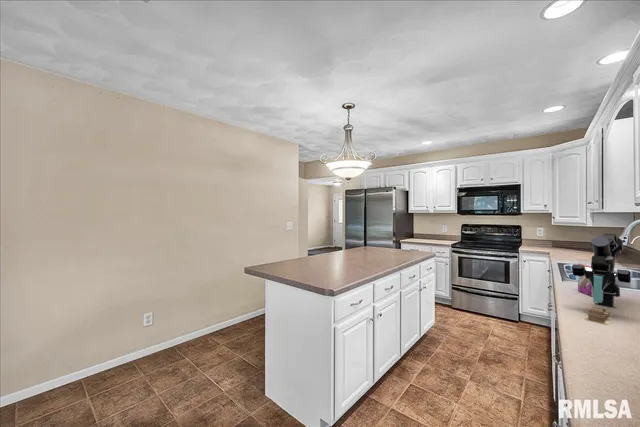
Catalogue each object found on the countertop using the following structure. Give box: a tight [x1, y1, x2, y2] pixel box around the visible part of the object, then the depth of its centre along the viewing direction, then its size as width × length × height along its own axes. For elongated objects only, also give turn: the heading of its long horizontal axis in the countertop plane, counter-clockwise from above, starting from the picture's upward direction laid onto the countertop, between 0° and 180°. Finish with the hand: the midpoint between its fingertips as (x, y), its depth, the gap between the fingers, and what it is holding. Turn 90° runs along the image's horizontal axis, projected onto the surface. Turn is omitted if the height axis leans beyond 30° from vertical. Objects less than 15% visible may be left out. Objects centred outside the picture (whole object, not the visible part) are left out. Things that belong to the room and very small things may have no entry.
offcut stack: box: [587, 306, 606, 324], centre depth 121 cm, size 5×5×4 cm
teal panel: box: [592, 275, 603, 303], centre depth 126 cm, size 5×2×11 cm, turn 130°
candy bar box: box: [577, 263, 595, 298], centre depth 162 cm, size 11×5×16 cm, turn 168°
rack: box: [584, 306, 613, 326], centre depth 124 cm, size 18×7×4 cm, turn 129°
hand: (597, 288), depth 125 cm, fingers closed on teal panel, 2 cm apart
